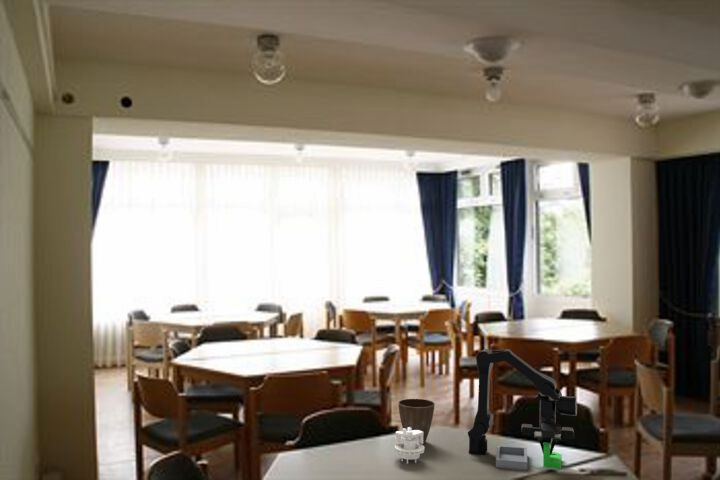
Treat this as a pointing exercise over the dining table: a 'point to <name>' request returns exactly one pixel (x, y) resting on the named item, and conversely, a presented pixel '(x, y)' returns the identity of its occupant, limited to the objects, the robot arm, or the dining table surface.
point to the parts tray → (511, 457)
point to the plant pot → (417, 415)
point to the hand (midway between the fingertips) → (547, 454)
